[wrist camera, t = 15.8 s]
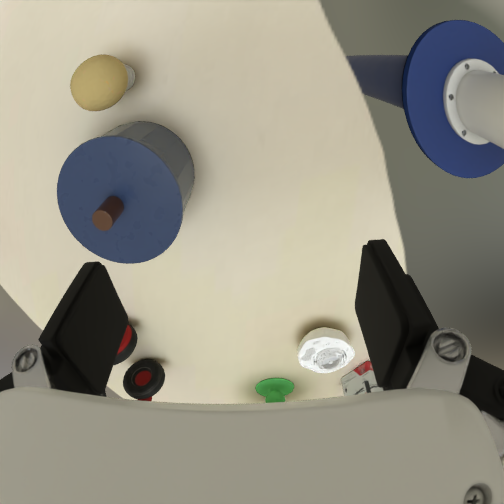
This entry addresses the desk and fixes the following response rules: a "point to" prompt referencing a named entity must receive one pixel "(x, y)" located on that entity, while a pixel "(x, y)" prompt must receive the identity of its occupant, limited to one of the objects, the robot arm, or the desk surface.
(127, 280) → the desk surface
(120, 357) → the headphones
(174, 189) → the pot lid
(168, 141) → the pot
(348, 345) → the cell model
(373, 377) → the ink box
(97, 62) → the light bulb
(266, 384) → the cup
